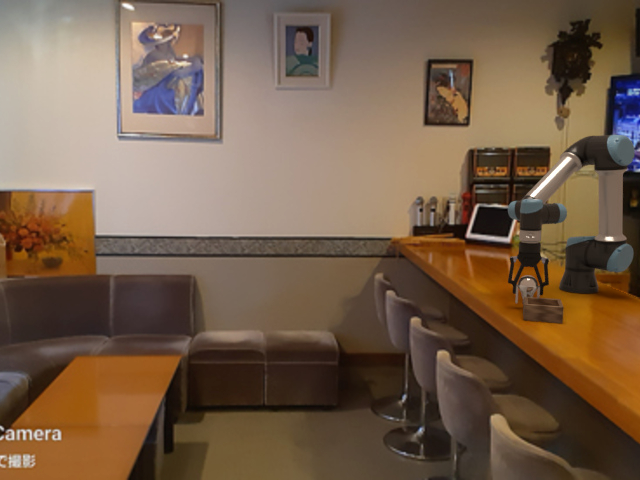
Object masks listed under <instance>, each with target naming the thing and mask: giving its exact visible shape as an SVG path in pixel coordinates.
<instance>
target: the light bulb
mask: <svg viewBox="0 0 640 480" xmlns="http://www.w3.org/2000/svg"><path fill="white" fill-rule="evenodd" d="M517 284H518V291H519V292H520V293H521V297H522V304H523V303H524V297H534V294H535V293H537V288H538V286H539V281H538V279H537V278H535V277H534V276H533V275H530V274H529V275H528V274H526V275H523V276H520V277H519V280H518V282H517Z"/></svg>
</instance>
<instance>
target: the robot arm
mask: <svg viewBox="0 0 640 480" xmlns="http://www.w3.org/2000/svg"><path fill="white" fill-rule="evenodd" d="M634 158H635V147H634V144H633V142H632V140H631V139H630V138H629V137H628V136H627V135H623V134H606V135H605V134H603V135H587V136H585V137H583V138H581V139H579V140H577V141H575V142H574V143H573V144H571V145H570V146H568V147H567V148H566V149H565V150H564V151H563V152H562V153H561V154H560V156H559V160H558V161H557V162H556V163H555V164H554V165H552V167H551V168H550V169H549V170H548V171H547V172H546V173H545V174H544V175H543V177H542V178H540V180H539V181H538V182H537V183H536V184H535V185H534V186H533V187H532V188H531V189H530V190H529V191H528V192H527V193H526V195H524V197H523V198H521V199H520V200H514V201H511V202H510V203H509V205H508V208H507V213H508V216H509V218H510V219H512V220H515V221H519V233H518V234H519V236H518V237H519V238H518V240H519V243H518V254H517V255H515V256H513V255H512V256H510V257H509V261H510V265H509V266H510V267H509V271H508V278H507V283H508V284H510V285H512V293H513V295H515V304H518V303H519V302H518V301H519V287H518V282H519V280H520V278H521V274H522V272H523V271H524V268H528V267H529V268H533V269H534V272H535V276H536V279H537V282H538V288H537V290H536V298H541V296H543V295H544V287H546V286H547V287H548V286H550V281H549V280H550V278H549V268H548V267H549V266H548V265H549V262H550V259H549V257H543V256H542V255H541V246H542V245H541V244H542V243H541V241H542V230H543V229H542V226H544V225H556V224H561V223H563V222H564V221H565V220H567V216H568V211H567V210H568V209H567V207H565V205H564V204H562V203H560V202H559V203H557V202H553V203H547V201H549V200H550V198H551V197H552V196H553V195H554V194H555V193H556V192H557V191H558V190H559V189H560V188H561V187H562V186H563V185H564V184H565V182H567V181H568V179H569V178H570V177H571V176H572V175H573V174H574V173H576V172H579V171H581V170H582V168H584V167H586V166H593V167H594V168H593V170H594V172H596V174H597V175H598V234H597V235H585V236H582V235H580V236H570V237H568V238H567V240H566V246H565V261H564V263H565V265H564V266H565V267H564V272H563V274H562V277H561V279H560V282H559V289H560V290H561V291H564V292H570V293H573V294H574V293H575V294H595V293H598V292H599V284H598V280H597V276H596V270H601V271H607V272H610V273H613V272H614V273H623V272H624V271H626V270H627V269H628V268H629V267H630V265H631V263H632V262H633V259H634V248H633V247H632V245H631V244H629V243H628V241H627V237H626V235H624V234H623V216H624V215H623V208H624V207H623V203H624V202H623V201H624V200H623V198H624V193H623V192H624V191H623V190H624V189H623V188H624V187H623V185H624V183H623V182H624V180H623V179H624V177H623V175H624V173H626V171H627V170H628V166H629V165H630V164H632V163H633V160H634ZM517 260H518V262H519V263H520V266H519V268H518V270H517V272H516V274H515V277H514V279H513V276H514V275H513V274H514V270H515V263H516V262H517ZM541 261H542V264H543V272H544V273H543V275H544V281H543V279H542V277H541V273H540V271H539V268H538V264H539V263H540V262H541Z"/></svg>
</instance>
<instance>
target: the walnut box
mask: <svg viewBox="0 0 640 480" xmlns="http://www.w3.org/2000/svg"><path fill="white" fill-rule="evenodd" d="M522 305H523V306H522V307H523V308H522V314H523V321H527V322H528V320H529V322H539V321H541V322H540V323H553V324H563V321H564V305H563V302H562V299H559V298H549V297H547V298H546V297H540V298H537V297H534V296H533V297H524V303H523V302H522Z"/></svg>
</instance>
